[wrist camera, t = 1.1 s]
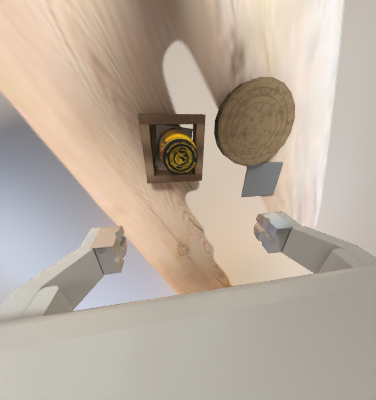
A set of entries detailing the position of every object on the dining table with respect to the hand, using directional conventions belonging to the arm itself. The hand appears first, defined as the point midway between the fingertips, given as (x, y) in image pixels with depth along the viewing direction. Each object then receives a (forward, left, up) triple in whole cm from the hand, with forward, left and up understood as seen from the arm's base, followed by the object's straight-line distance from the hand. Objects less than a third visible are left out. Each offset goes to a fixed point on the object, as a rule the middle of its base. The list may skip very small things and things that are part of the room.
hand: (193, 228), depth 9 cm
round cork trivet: (-4, +17, -28) cm, 33 cm away
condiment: (+1, +1, -27) cm, 27 cm away
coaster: (+9, +23, -27) cm, 37 cm away
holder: (+1, +1, -27) cm, 27 cm away
